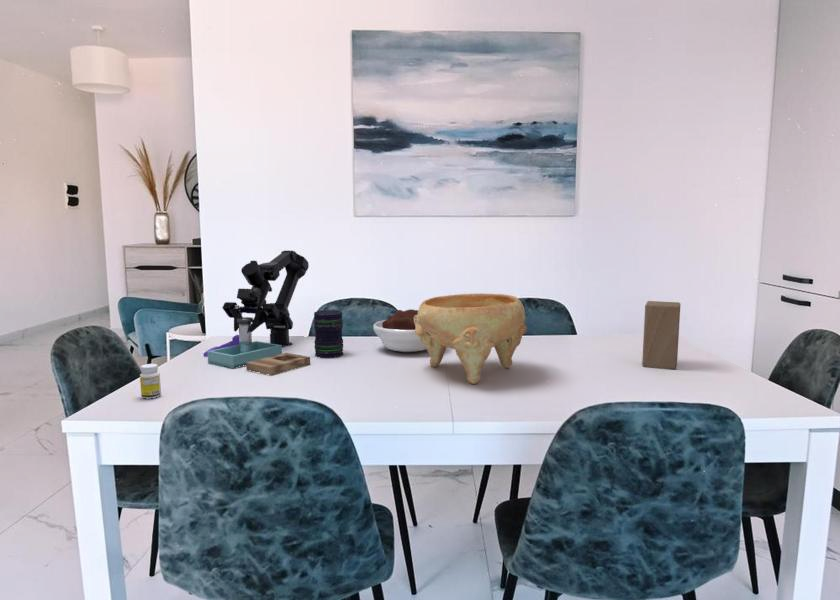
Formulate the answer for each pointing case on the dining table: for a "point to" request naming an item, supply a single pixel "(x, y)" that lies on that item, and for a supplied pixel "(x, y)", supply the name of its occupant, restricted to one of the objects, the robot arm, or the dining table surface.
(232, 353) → the tray
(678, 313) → the wooden block
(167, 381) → the dining table surface
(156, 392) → the supplement bottle
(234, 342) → the bracket
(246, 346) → the pin
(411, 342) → the white bowl of pudding
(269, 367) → the block
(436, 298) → the decorative bowl
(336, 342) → the storage jar
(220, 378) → the dining table surface
